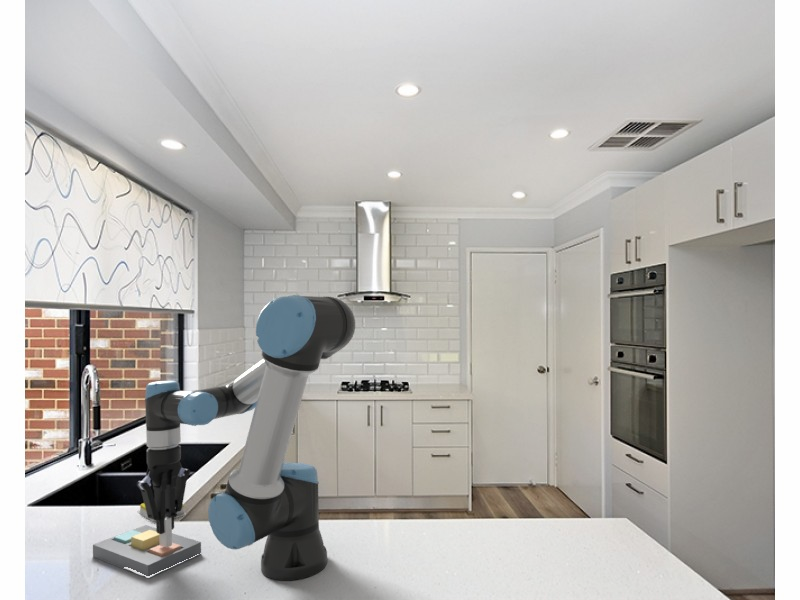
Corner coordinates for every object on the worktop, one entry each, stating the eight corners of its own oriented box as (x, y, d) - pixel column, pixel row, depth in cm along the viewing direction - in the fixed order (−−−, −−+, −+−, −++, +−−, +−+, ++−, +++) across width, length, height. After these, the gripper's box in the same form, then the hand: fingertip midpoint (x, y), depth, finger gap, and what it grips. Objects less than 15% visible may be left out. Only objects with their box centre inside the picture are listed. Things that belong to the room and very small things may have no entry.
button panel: (201, 554, 132) (200, 542, 132) (148, 578, 120) (147, 565, 120) (145, 536, 144) (145, 525, 144) (92, 556, 132) (92, 544, 132)
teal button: (144, 545, 137) (144, 533, 137) (125, 553, 133) (125, 540, 133) (133, 541, 140) (133, 529, 140) (114, 548, 135) (114, 536, 135)
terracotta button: (181, 558, 129) (180, 545, 129) (162, 566, 125) (162, 553, 125) (168, 553, 132) (168, 541, 132) (149, 562, 127) (149, 549, 127)
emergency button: (154, 510, 153) (136, 498, 164) (155, 525, 153) (136, 513, 164) (187, 501, 160) (166, 491, 170) (187, 516, 160) (167, 504, 170)
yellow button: (162, 545, 133) (162, 533, 133) (143, 553, 129) (143, 540, 129) (150, 541, 136) (150, 529, 136) (131, 549, 131) (131, 536, 132)
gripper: (177, 438, 136) (180, 532, 136) (128, 450, 125) (130, 552, 125) (196, 441, 132) (199, 538, 132) (147, 453, 121) (149, 559, 121)
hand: (165, 545), depth 128 cm, fingers closed
